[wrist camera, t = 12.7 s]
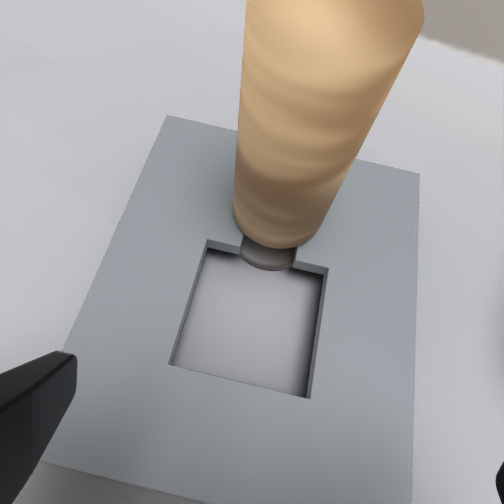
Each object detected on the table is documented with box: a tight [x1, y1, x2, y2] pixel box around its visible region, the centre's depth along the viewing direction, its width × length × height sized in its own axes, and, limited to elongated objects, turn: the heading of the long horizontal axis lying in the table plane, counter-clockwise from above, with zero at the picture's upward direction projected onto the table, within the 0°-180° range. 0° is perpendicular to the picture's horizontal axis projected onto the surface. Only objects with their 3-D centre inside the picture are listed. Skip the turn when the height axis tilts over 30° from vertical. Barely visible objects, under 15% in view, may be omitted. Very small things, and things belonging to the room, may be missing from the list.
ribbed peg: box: [232, 0, 424, 271], centre depth 17 cm, size 5×5×14 cm
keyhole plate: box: [40, 115, 420, 504], centre depth 20 cm, size 19×16×2 cm
